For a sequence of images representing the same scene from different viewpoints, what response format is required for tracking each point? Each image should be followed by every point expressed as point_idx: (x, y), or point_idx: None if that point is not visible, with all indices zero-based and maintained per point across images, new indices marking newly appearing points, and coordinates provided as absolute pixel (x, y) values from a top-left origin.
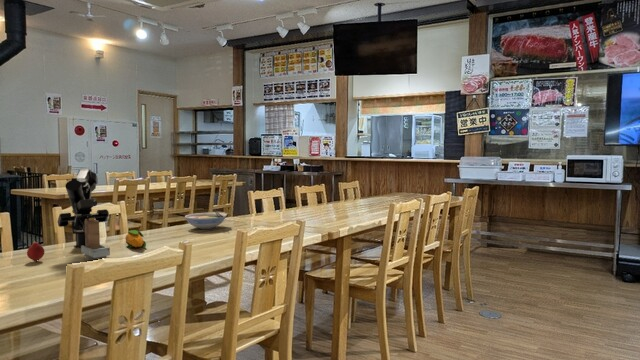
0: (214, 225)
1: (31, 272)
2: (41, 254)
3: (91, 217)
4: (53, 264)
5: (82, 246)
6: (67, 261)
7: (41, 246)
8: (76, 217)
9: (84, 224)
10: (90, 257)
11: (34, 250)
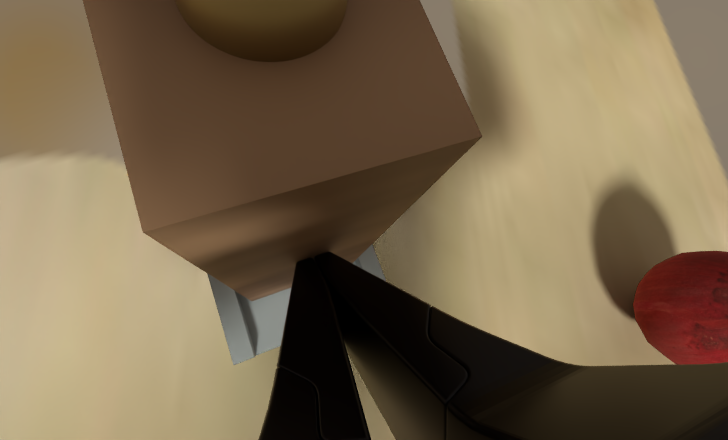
0: None
1: (582, 42)
2: (651, 274)
3: None
4: (519, 167)
5: (378, 261)
6: (451, 211)
7: (722, 297)
8: None
9: (444, 333)
10: None
11: (726, 252)
